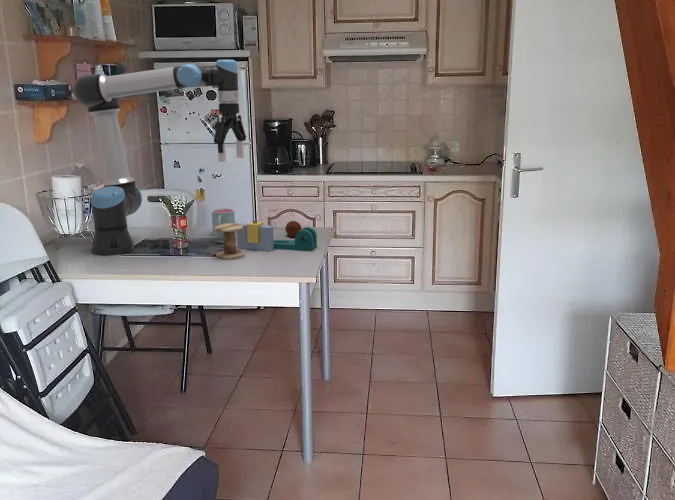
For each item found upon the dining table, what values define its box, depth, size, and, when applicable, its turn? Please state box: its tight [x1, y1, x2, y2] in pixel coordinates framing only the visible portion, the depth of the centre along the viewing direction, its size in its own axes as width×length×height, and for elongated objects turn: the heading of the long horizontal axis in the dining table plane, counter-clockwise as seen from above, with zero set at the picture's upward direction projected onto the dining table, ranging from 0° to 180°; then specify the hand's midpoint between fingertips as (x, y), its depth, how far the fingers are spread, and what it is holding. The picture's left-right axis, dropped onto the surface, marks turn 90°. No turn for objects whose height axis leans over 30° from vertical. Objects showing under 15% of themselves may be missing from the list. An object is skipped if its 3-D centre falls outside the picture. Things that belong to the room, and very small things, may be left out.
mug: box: [211, 208, 236, 238], centre depth 259 cm, size 14×9×10 cm
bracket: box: [273, 226, 318, 252], centre depth 239 cm, size 18×7×8 cm, turn 77°
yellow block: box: [246, 219, 264, 243], centre depth 237 cm, size 4×6×8 cm
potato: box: [284, 220, 303, 238], centre depth 258 cm, size 7×9×6 cm
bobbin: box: [215, 222, 245, 260], centre depth 228 cm, size 10×10×11 cm
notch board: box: [236, 223, 275, 252], centre depth 238 cm, size 14×3×9 cm, turn 69°
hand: (231, 159), depth 240 cm, fingers open, 13 cm apart
